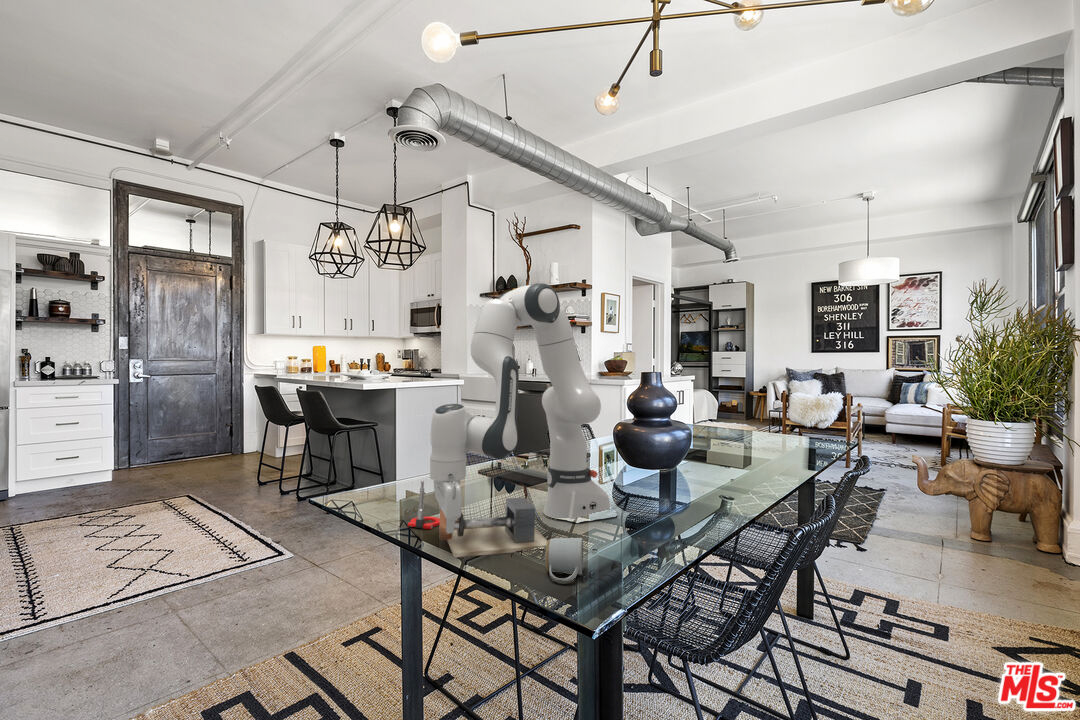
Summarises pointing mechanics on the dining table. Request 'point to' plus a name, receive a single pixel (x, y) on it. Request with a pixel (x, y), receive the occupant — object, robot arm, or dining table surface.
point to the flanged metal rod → (471, 524)
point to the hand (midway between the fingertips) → (446, 526)
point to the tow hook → (420, 520)
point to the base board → (489, 542)
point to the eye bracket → (520, 520)
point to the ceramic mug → (564, 556)
